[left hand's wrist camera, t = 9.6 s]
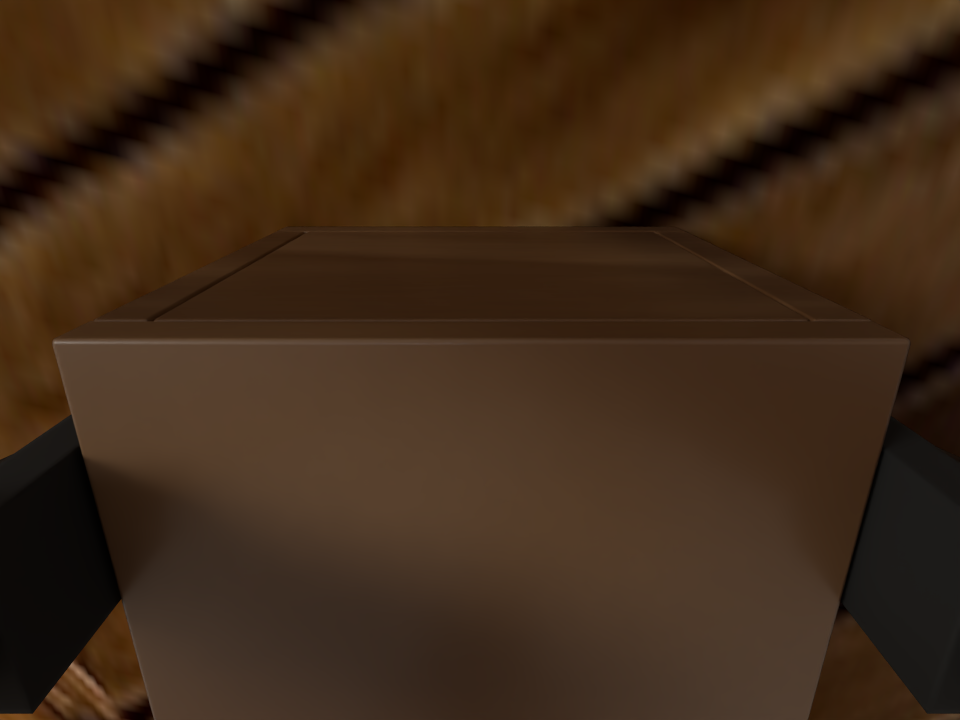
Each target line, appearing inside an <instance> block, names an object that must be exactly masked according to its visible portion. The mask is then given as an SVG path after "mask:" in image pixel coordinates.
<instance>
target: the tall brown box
mask: <svg viewBox="0 0 960 720" xmlns="http://www.w3.org/2000/svg"><path fill="white" fill-rule="evenodd" d="M52 345H53V348H54V352H55V356H56V359H57V363H58V367H59V370H60V374H61V378H62V381H63V385H64V389H65V392H66V396H67V400H68V404H69V407H70V411H71V415H72V418H73V422H74V426H75V429H76V433H77V437H78V440H79V444H80V448H81V452H82V455H83V459H84V463H85V466H86V470H87V474H88V477H89V481H90V485H91V488H92V492H93V496H94V499H95V503H96V507H97V511H98V514H99V518H100V522H101V525H102V529H103V533H104V536H105V540H106V544H107V547H108V551H109V555H110V558H111V562H112V566H113V570H114V573H115V577H116V581H117V584H118V588H119V592H120V595H121V599H122V603H123V606H124V610H125V614H126V617H127V621H128V625H129V629H130V632H131V636H132V640H133V643H134V647H135V651H136V654H137V658H138V662H139V665H140V669H141V673H142V676H143V680H144V684H145V688H146V691H147V695H148V699H149V702H150V706H151V710H152V713H153V717H154V720H808V718H809V714H810V710H811V707H812V703H813V699H814V696H815V692H816V688H817V685H818V681H819V677H820V674H821V670H822V666H823V663H824V659H825V655H826V652H827V648H828V644H829V641H830V637H831V633H832V630H833V626H834V622H835V619H836V615H837V611H838V608H839V604H840V600H841V597H842V593H843V589H844V586H845V582H846V578H847V575H848V571H849V567H850V564H851V560H852V557H853V553H854V549H855V546H856V542H857V538H858V535H859V531H860V527H861V524H862V520H863V516H864V513H865V509H866V505H867V502H868V498H869V494H870V491H871V487H872V483H873V480H874V476H875V472H876V469H877V465H878V461H879V458H880V454H881V450H882V447H883V443H884V439H885V436H886V432H887V428H888V425H889V421H890V417H891V414H892V410H893V406H894V403H895V399H896V395H897V392H898V388H899V384H900V381H901V377H902V373H903V370H904V366H905V362H906V359H907V355H908V351H909V348H910V340H909V339H908V338H906V337H904V336H902V335H900V334H898V333H896V332H893V331H891V330H889V329H887V328H885V327H883V326H881V325H879V324H877V323H875V322H872V321H871V320H870V319H868V318H866V317H864V316H862V315H860V314H857V313H855V312H853V311H851V310H849V309H847V308H845V307H843V306H841V305H839V304H836V303H834V302H832V301H830V300H828V299H826V298H824V297H822V296H820V295H818V294H815V293H813V292H811V291H809V290H807V289H805V288H803V287H801V286H799V285H797V284H794V283H792V282H790V281H788V280H786V279H784V278H782V277H780V276H778V275H775V274H773V273H771V272H769V271H767V270H765V269H763V268H761V267H759V266H757V265H754V264H752V263H750V262H748V261H746V260H744V259H742V258H740V257H738V256H736V255H733V254H731V253H729V252H727V251H725V250H723V249H721V248H719V247H717V246H715V245H712V244H710V243H708V242H706V241H704V240H702V239H700V238H698V237H696V236H694V235H691V234H689V233H687V232H685V231H682V230H680V229H678V228H676V227H285V228H283V229H281V230H279V231H277V232H275V233H273V234H271V235H269V236H267V237H265V238H263V239H260V240H258V241H256V242H254V243H252V244H250V245H248V246H246V247H244V248H242V249H240V250H238V251H236V252H234V253H231V254H229V255H227V256H225V257H223V258H221V259H219V260H217V261H215V262H213V263H211V264H209V265H207V266H204V267H202V268H200V269H198V270H196V271H194V272H192V273H190V274H188V275H186V276H184V277H182V278H180V279H178V280H175V281H173V282H171V283H169V284H167V285H165V286H163V287H161V288H159V289H157V290H155V291H153V292H151V293H149V294H146V295H144V296H142V297H140V298H138V299H136V300H134V301H132V302H130V303H128V304H126V305H124V306H122V307H119V308H117V309H115V310H113V311H111V312H109V313H107V314H105V315H103V316H101V317H99V318H97V319H95V320H94V321H90V322H88V323H86V324H84V325H82V326H80V327H78V328H76V329H74V330H71V331H69V332H67V333H65V334H63V335H61V336H59V337H57V338H55V339H54V340H53V344H52Z"/></svg>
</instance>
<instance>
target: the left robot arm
mask: <svg viewBox="0 0 960 720" xmlns="http://www.w3.org/2000/svg"><path fill="white" fill-rule="evenodd" d="M120 600H121V595H120V592H119V588H118V584H117V581H116V577H115V573H114V570H113V566H112V562H111V558H110V555H109V551H108V547H107V544H106V540H105V536H104V533H103V529H102V525H101V522H100V518H99V514H98V511H97V507H96V503H95V499H94V496H93V492H92V488H91V485H90V481H89V477H88V474H87V470H86V466H85V463H84V459H83V455H82V452H81V448H80V444H79V440H78V437H77V433H76V429H75V426H74V422H73V418H72V415H70V416H68V417H67V418H65V419H64V420H63V421H61V422H60V423H58V424H57V425H55V426H54V427H52V428H51V429H49V430H48V431H46V432H45V433H44V434H42V435H41V436H39V437H38V438H36V439H35V440H33V441H32V442H30V443H29V444H28V445H26V446H25V447H23V448H22V449H20V450H19V451H17V452H16V453H14V454H12V455H10V456H8V457H6V458H3V459H1V460H0V714H33V712H34V711H35V710H36V709H37V707H38V706H39V705H40V703H41V702H42V701H43V700H44V698H45V697H46V696H47V694H48V693H49V692H50V690H51V689H52V688H53V687H54V685H55V684H56V683H57V681H58V680H59V679H60V678H61V676H62V675H63V674H64V672H65V671H66V670H67V668H68V667H69V666H70V665H71V663H72V662H73V661H74V659H75V658H76V657H77V655H78V654H79V653H80V652H81V650H82V649H83V648H84V646H85V645H86V644H87V643H88V641H89V640H90V639H91V637H92V636H93V635H94V633H95V632H96V631H97V630H98V628H99V627H100V626H101V624H102V623H103V622H104V621H105V619H106V618H107V617H108V615H109V614H110V613H111V611H112V610H113V609H114V608H115V606H116V605H117V604H118V602H119V601H120ZM840 601H841V602H842V604H843V605H844V606H845V608H846V609H847V610H848V611H849V613H850V614H851V615H852V617H853V618H854V619H855V621H856V622H857V623H858V624H859V626H860V627H861V628H862V630H863V631H864V632H865V634H866V635H867V636H868V637H869V639H870V640H871V641H872V643H873V644H874V645H875V646H876V648H877V649H878V650H879V652H880V653H881V654H882V656H883V657H884V658H885V659H886V661H887V662H888V663H889V665H890V666H891V667H892V668H893V670H894V671H895V672H896V674H897V675H898V676H899V678H900V679H901V680H902V681H903V683H904V684H905V685H906V687H907V688H908V689H909V690H910V692H911V693H912V694H913V696H914V697H915V698H916V700H917V701H918V702H919V703H920V705H921V706H922V707H923V709H924V710H925V711H926V713H927V714H960V457H958V456H956V455H953V454H951V453H949V452H947V451H944V450H942V449H940V448H938V447H935V446H934V445H932V444H931V443H930V442H928V441H927V440H925V439H924V438H922V437H921V436H919V435H918V434H916V433H915V432H913V431H912V430H911V429H909V428H908V427H906V426H905V425H903V424H902V423H900V422H899V421H897V420H896V419H895V418H893V417H892V416H891V417H890V421H889V425H888V428H887V432H886V436H885V439H884V443H883V447H882V450H881V454H880V458H879V461H878V465H877V469H876V472H875V476H874V480H873V483H872V487H871V491H870V494H869V498H868V502H867V505H866V509H865V513H864V516H863V520H862V524H861V527H860V531H859V535H858V538H857V542H856V546H855V549H854V553H853V557H852V560H851V564H850V567H849V571H848V575H847V578H846V582H845V586H844V589H843V593H842V597H841V600H840Z"/></svg>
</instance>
